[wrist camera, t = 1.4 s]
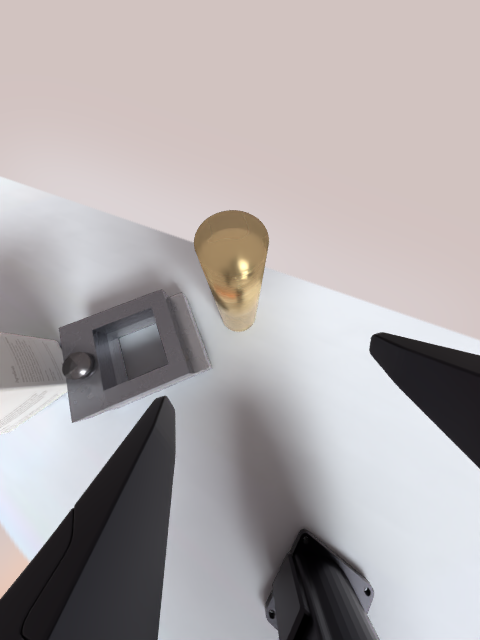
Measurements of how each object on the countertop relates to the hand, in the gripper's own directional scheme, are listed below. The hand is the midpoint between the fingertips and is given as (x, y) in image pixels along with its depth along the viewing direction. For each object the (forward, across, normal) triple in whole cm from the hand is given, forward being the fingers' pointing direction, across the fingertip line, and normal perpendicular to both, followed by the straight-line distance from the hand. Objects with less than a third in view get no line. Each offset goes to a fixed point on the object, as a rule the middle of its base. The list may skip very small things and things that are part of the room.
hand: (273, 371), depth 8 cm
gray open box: (+13, +11, +5) cm, 18 cm away
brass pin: (+14, 0, +4) cm, 15 cm away
